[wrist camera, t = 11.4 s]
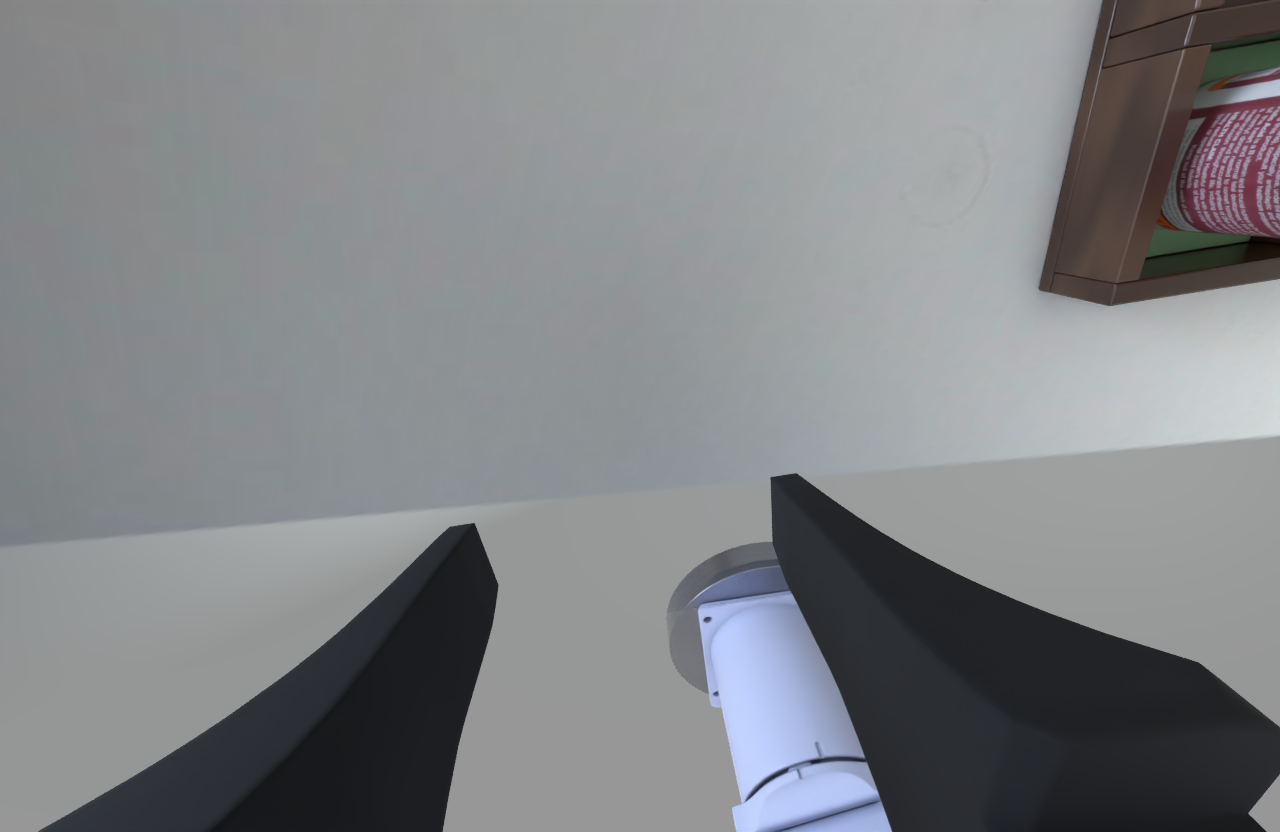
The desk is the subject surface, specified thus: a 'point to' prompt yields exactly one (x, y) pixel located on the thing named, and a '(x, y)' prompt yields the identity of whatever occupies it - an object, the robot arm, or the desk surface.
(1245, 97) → the pill bottle
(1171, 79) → the tray
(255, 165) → the desk surface
